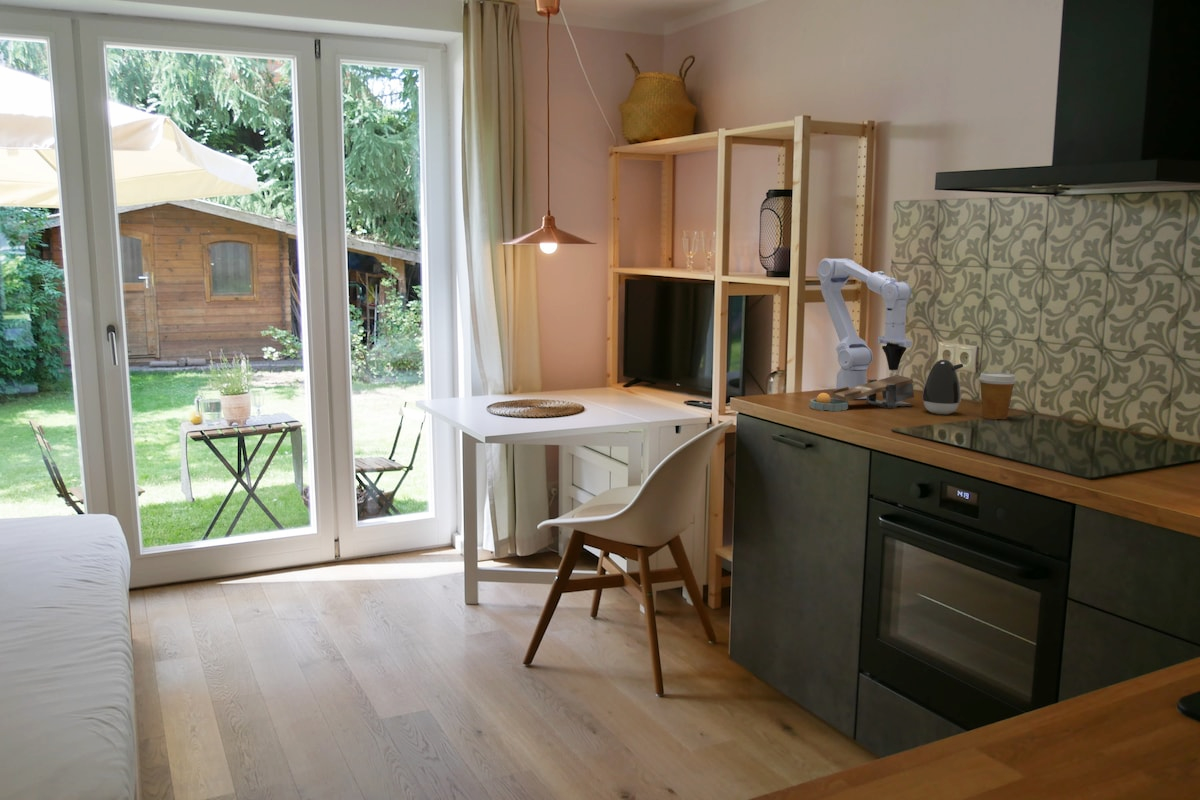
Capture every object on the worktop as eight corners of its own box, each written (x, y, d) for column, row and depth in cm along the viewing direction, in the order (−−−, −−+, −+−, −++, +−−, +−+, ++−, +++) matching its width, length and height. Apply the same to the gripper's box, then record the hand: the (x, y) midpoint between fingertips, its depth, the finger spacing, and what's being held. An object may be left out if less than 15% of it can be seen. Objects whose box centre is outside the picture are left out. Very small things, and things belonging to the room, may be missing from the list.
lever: (899, 393, 293) (896, 372, 292) (915, 397, 286) (912, 376, 284) (835, 411, 288) (831, 390, 287) (849, 416, 281) (846, 394, 279)
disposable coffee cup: (1020, 420, 266) (1024, 376, 264) (990, 421, 264) (993, 377, 262) (998, 413, 275) (1001, 371, 273) (968, 415, 273) (971, 372, 271)
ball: (816, 390, 283) (827, 393, 284) (812, 403, 283) (824, 406, 284) (823, 392, 279) (834, 395, 280) (819, 406, 279) (831, 409, 281)
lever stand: (893, 401, 295) (894, 378, 294) (915, 407, 285) (916, 383, 283) (866, 402, 293) (867, 379, 291) (887, 408, 282) (888, 384, 281)
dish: (803, 405, 286) (803, 398, 286) (835, 404, 289) (836, 397, 289) (821, 411, 276) (821, 404, 276) (854, 410, 279) (855, 403, 279)
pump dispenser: (953, 417, 269) (957, 362, 267) (916, 413, 275) (919, 359, 273) (965, 412, 277) (969, 359, 275) (928, 408, 283) (932, 356, 281)
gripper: (922, 325, 280) (919, 372, 282) (893, 321, 294) (891, 366, 296) (900, 325, 278) (898, 373, 280) (872, 322, 292) (870, 367, 294)
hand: (893, 369), depth 288 cm, fingers closed
